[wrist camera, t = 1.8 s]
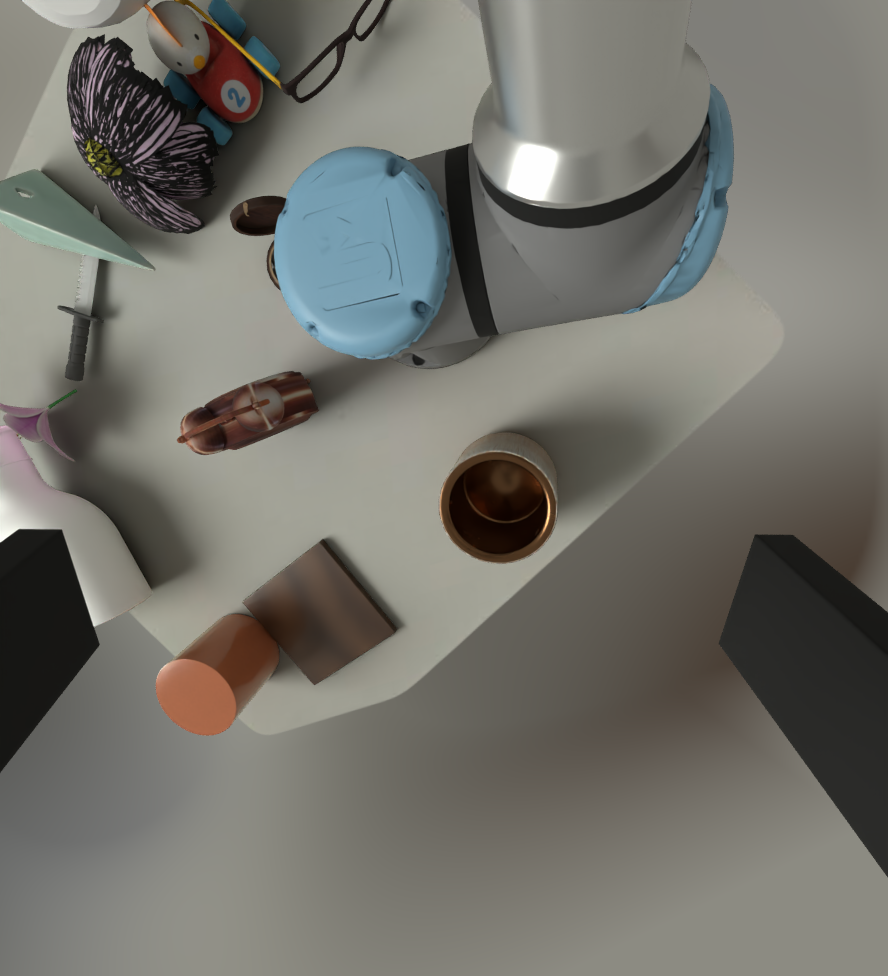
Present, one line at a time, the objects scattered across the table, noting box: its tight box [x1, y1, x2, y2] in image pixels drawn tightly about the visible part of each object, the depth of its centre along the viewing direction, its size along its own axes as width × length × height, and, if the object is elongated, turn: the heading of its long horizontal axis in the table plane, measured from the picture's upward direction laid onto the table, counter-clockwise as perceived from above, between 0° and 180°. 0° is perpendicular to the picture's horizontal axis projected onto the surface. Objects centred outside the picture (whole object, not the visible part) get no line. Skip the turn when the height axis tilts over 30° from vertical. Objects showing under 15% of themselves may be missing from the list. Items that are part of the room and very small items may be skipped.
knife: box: [58, 205, 104, 381], centre depth 58 cm, size 19×2×5 cm
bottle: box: [0, 425, 152, 627], centre depth 64 cm, size 17×25×8 cm
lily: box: [0, 389, 77, 461], centre depth 60 cm, size 12×12×10 cm
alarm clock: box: [177, 371, 319, 455], centre depth 51 cm, size 11×5×15 cm, turn 113°
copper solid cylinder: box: [156, 614, 279, 735], centre depth 64 cm, size 10×10×10 cm
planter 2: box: [0, 169, 155, 271], centre depth 56 cm, size 8×6×18 cm
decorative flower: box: [67, 34, 219, 234], centre depth 49 cm, size 14×12×15 cm
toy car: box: [144, 0, 280, 145], centre depth 46 cm, size 9×9×10 cm
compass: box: [230, 196, 286, 290], centre depth 50 cm, size 8×8×7 cm
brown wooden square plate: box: [242, 539, 397, 685], centre depth 65 cm, size 14×14×1 cm
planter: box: [439, 432, 558, 564], centre depth 52 cm, size 11×11×10 cm
